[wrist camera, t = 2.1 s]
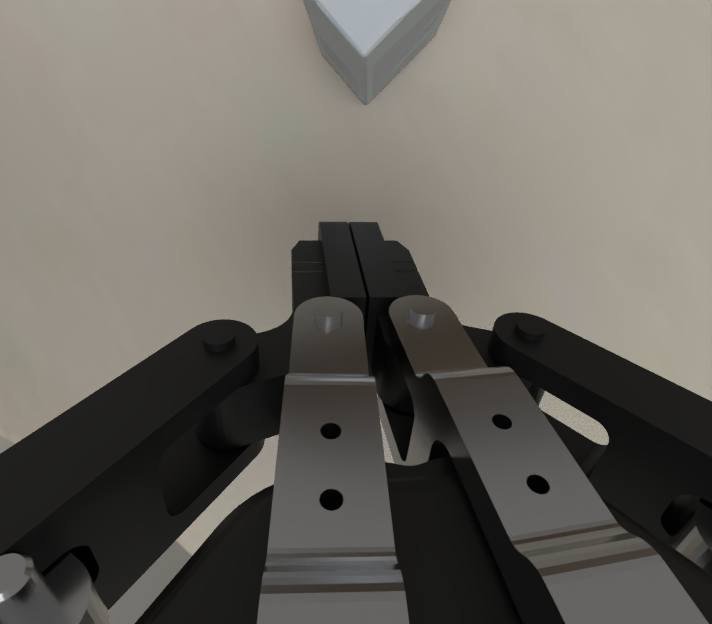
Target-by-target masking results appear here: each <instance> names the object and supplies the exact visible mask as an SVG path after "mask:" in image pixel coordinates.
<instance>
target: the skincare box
mask: <svg viewBox="0 0 712 624" xmlns="http://www.w3.org/2000/svg"><path fill="white" fill-rule="evenodd" d="M303 1H304V4H305V7H306V10H307V13H308V15H309V18H310V21H311V24H312V27H313V30H314V33H315V35H316V38H317V41H318V44H319V47H320V50H321V53H322V55H323V57H324V58H325V59H326V60H327V61H328V62H329V64H330V65H331V66H332V67H333V68H334V69H335V71H336V72H337V73H338V74H339V75H340V77H341V78H342V79H343V80H344V81H345V82H346V84H347V85H348V86H349V87H350V88H351V90H352V91H353V92H354V93H355V94H356V95H357V97H358V98H359V99H360V100H361V101H362V102H363V103H364V104H365V105H367V104H368V103H369V102H370V101H371V100H372V99H373V98H374V97H375V96H376V95H377V94H378V93H379V92H380V91H381V90H382V89H383V88H384V87H385V86H386V85H387V84H388V83H389V82H390V81H391V80H392V79H393V78H394V77H395V76H396V75H397V74H398V73H399V72H400V71H401V70H402V69H403V68H404V67H405V66H406V65H407V64H408V63H409V62H410V61H411V60H412V59H413V58H414V57H415V56H416V55H417V54H418V53H419V51H420V50H421V49H422V48H423V47H424V46H425V45H426V44H427V43H428V42H429V41H430V40H431V39H432V38H433V37H434V36H435V34H436V32H437V30H438V28H439V25H440V24H441V21H442V19H443V17H444V15H445V12H446V10H447V8H448V5H449V3H450V1H451V0H303Z"/></svg>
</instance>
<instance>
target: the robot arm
mask: <svg viewBox="0 0 712 624" xmlns="http://www.w3.org/2000/svg"><path fill="white" fill-rule="evenodd" d="M291 253H292V311H293V312H292V315H291V316H290V318H289V319H288V320H287V321H286V322H285V323H283V324H282V325H280V326H278V327H277V328H274V329H272V330H269V331H265V332H261V333H257V334H256V332H255V331H254V330H253V329H252V328H251V327H250V326H249V325H247V324H245V323H242V322H239V321H235V320H213V321H209V322H205V323H202V324H200V325H197V326H196V327H194V328H192V329H191V330H189V331H187V332H186V333H184V334H183V335H181V336H180V337H178V338H177V339H175V340H174V341H172V342H171V343H169V344H168V345H166V346H165V347H163V348H161V349H160V350H158V351H157V352H155V353H154V354H152V355H151V356H149V357H148V358H146V359H145V360H143V361H142V362H140V363H139V364H137V365H135V366H134V367H132V368H131V369H129V370H128V371H126V372H125V373H123V374H122V375H120V376H119V377H117V378H116V379H114V380H113V381H111V382H109V383H108V384H106V385H105V386H103V387H102V388H100V389H99V390H97V391H96V392H94V393H93V394H91V395H90V396H88V397H87V398H85V399H84V400H82V401H80V402H79V403H77V404H76V405H74V406H73V407H71V408H70V409H68V410H67V411H65V412H64V413H62V414H61V415H59V416H58V417H56V418H54V419H53V420H51V421H50V422H48V423H47V424H45V425H44V426H42V427H41V428H39V429H38V430H36V431H35V432H33V433H32V434H30V435H28V436H27V437H25V438H24V439H22V440H21V441H19V442H18V443H16V444H15V445H13V446H12V447H10V448H9V449H7V450H6V451H4V452H2V453H1V454H0V624H110V616H109V613H108V610H109V609H110V608H111V607H112V606H113V605H114V604H115V603H116V602H117V601H118V600H119V599H120V597H121V596H122V595H123V594H124V593H125V592H126V591H127V590H128V589H129V588H130V587H131V586H132V585H133V584H134V583H135V582H136V581H137V580H138V579H139V578H140V577H141V576H142V575H143V574H144V573H145V571H146V570H147V569H148V568H149V567H150V566H151V565H152V564H153V563H154V562H155V561H156V560H157V559H158V558H159V557H160V556H161V555H162V554H163V553H164V552H165V551H166V550H167V549H168V548H169V547H170V546H171V545H172V543H173V542H174V541H175V540H176V539H177V538H178V537H179V536H180V535H181V534H182V533H183V532H184V531H185V530H186V529H187V528H188V527H189V526H190V525H191V524H192V523H193V522H194V521H195V520H196V519H197V518H198V516H199V515H200V514H201V513H202V512H203V511H204V510H205V509H206V508H207V507H208V506H209V505H210V504H211V503H212V502H213V501H214V500H215V499H216V498H217V497H218V496H219V495H220V494H221V493H222V492H223V491H224V489H225V488H226V487H227V486H228V485H229V484H230V483H231V482H232V481H233V480H234V479H235V478H236V477H237V476H238V475H239V474H240V473H241V472H242V471H243V470H244V469H245V468H246V467H247V466H248V465H249V464H250V462H251V461H252V460H253V459H254V458H255V457H256V456H257V455H258V454H259V453H260V451H261V450H262V448H263V445H264V440H265V439H266V438H269V437H272V436H275V435H278V434H279V441H278V451H277V461H276V471H275V480H274V485H272V486H270V487H267V488H265V489H263V490H262V491H260V492H258V493H256V494H255V495H253V496H251V497H250V498H249V499H247V500H246V501H245V502H243V503H242V504H240V505H239V506H238V507H237V508H235V509H234V510H233V511H232V512H231V513H230V514H229V515H228V516H227V517H226V518H225V519H224V520H223V521H222V522H221V523H220V524H219V525H218V526H217V528H216V529H215V530H214V531H213V532H212V533H211V535H210V536H209V537H208V538H207V539H206V541H205V542H204V543H203V544H202V545H201V546H200V548H199V549H198V550H197V551H196V552H195V553H194V555H193V556H192V557H191V558H190V559H189V561H188V562H187V563H186V564H185V565H184V566H183V568H182V569H181V570H180V571H179V573H178V574H177V575H176V576H175V577H174V578H173V579H172V580H171V582H170V583H169V584H168V585H167V586H166V588H165V589H164V590H163V591H162V592H161V594H160V595H159V596H158V597H157V598H156V599H155V600H154V602H153V603H152V604H151V605H150V607H149V608H148V609H147V610H146V611H145V612H144V614H143V615H142V616H141V617H140V618H139V619H138V620H137V622H136V623H135V624H712V402H711V401H709V400H707V399H705V398H703V397H701V396H699V395H697V394H695V393H693V392H691V391H689V390H687V389H685V388H683V387H681V386H679V385H677V384H675V383H673V382H671V381H669V380H667V379H665V378H663V377H661V376H659V375H657V374H655V373H653V372H651V371H649V370H647V369H644V368H642V367H640V366H638V365H636V364H634V363H632V362H630V361H628V360H626V359H624V358H622V357H620V356H618V355H616V354H614V353H612V352H610V351H608V350H606V349H604V348H602V347H600V346H598V345H596V344H594V343H592V342H590V341H588V340H586V339H584V338H582V337H580V336H578V335H576V334H574V333H572V332H569V331H567V330H565V329H563V328H561V327H559V326H557V325H555V324H553V323H551V322H549V321H547V320H545V319H543V318H541V317H538V316H535V315H531V314H527V313H517V312H516V313H507V314H504V315H502V316H500V317H498V318H497V319H496V321H495V323H494V327H493V330H492V331H490V330H484V329H479V328H474V327H468V326H464V325H461V323H460V321H459V320H458V318H457V317H456V315H455V313H454V312H453V310H452V309H451V308H450V307H449V306H448V305H447V304H445V303H444V302H442V301H440V300H437V299H435V298H432V297H429V295H428V293H427V290H426V288H425V286H424V283H423V281H422V279H421V277H420V274H419V272H418V270H417V268H416V265H415V263H414V261H413V259H412V256H411V254H410V252H409V250H408V249H407V248H405V247H404V246H403V245H402V244H400V243H399V242H398V241H384V239H383V237H382V234H381V231H380V228H379V226H378V223H377V222H349V224H348V223H347V222H319V230H318V241H299V242H298V243H297V244H296V245H295V247H294V248H293V249H292V250H291ZM544 391H547V392H549V393H550V394H552V395H554V396H556V397H557V398H559V399H561V400H562V401H564V402H566V403H568V404H569V405H571V406H573V407H574V408H576V409H578V410H580V411H581V412H583V413H585V414H586V415H588V416H590V417H592V418H593V419H595V420H597V421H598V422H599V423H600V424H602V425H603V427H604V428H605V429H606V431H607V433H608V436H609V443H608V445H600V444H597V443H595V442H593V441H591V440H589V439H588V438H586V437H584V436H583V435H581V434H579V433H578V432H576V431H575V430H573V429H571V428H570V427H568V426H566V425H565V424H563V423H561V422H560V421H558V420H556V419H555V418H553V417H552V416H550V415H548V414H547V413H545V412H543V411H542V410H541V409H540V408H539V403H540V401H541V399H542V396H543V394H544ZM377 394H378V398H377ZM380 419H381V422H382V425H383V429H384V432H385V435H386V438H387V441H388V444H389V448H390V451H391V454H392V457H393V460H394V464H393V463H387V462H385V459H384V450H383V442H382V433H381V425H380Z"/></svg>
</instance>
